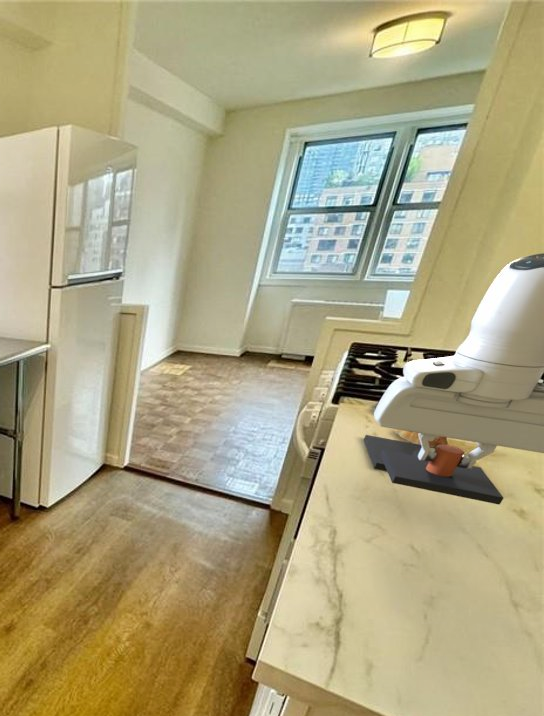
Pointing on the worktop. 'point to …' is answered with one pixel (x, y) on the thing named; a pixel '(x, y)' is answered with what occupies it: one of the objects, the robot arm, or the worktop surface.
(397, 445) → the notch pad
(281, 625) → the worktop surface
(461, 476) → the tab pad
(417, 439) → the pastry
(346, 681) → the worktop surface
